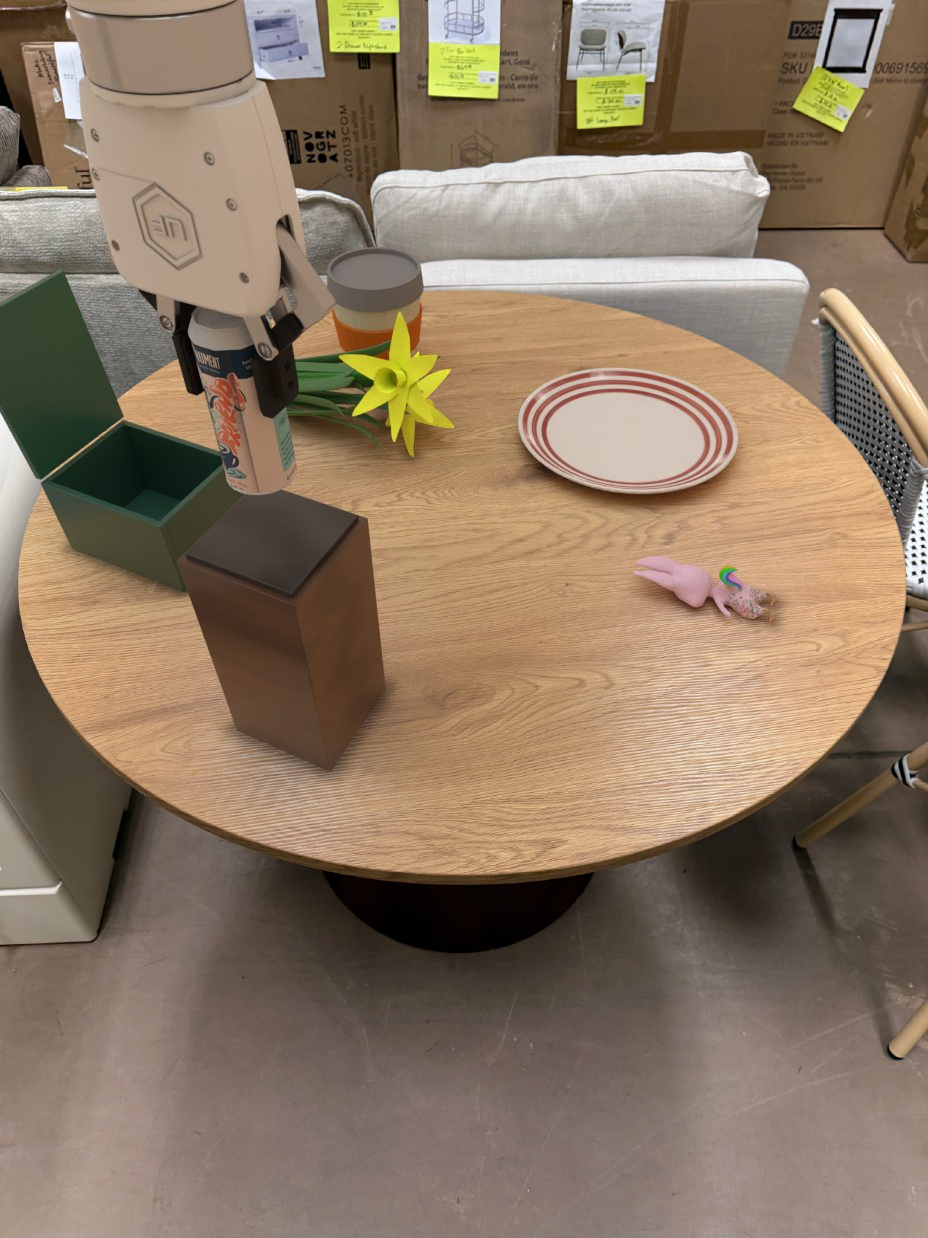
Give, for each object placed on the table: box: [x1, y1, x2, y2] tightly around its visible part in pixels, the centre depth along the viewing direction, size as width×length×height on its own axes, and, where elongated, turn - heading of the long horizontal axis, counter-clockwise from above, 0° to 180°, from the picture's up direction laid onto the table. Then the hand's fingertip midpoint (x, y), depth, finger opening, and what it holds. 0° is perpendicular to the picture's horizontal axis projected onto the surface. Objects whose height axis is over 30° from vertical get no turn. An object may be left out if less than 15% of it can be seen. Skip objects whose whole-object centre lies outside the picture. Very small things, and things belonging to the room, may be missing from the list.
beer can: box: [188, 306, 298, 495], centre depth 51 cm, size 5×5×12 cm
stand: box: [177, 489, 387, 772], centre depth 68 cm, size 10×10×22 cm
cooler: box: [40, 419, 245, 593], centre depth 88 cm, size 15×12×10 cm
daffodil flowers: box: [286, 311, 455, 458], centre depth 100 cm, size 17×15×35 cm
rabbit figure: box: [632, 555, 779, 624], centre depth 84 cm, size 6×6×15 cm
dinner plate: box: [517, 367, 740, 495], centre depth 103 cm, size 28×27×3 cm
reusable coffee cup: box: [326, 246, 425, 361], centre depth 109 cm, size 13×13×15 cm
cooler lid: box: [0, 269, 125, 481], centre depth 81 cm, size 16×12×5 cm
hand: (243, 392), depth 50 cm, fingers closed on beer can, 4 cm apart
